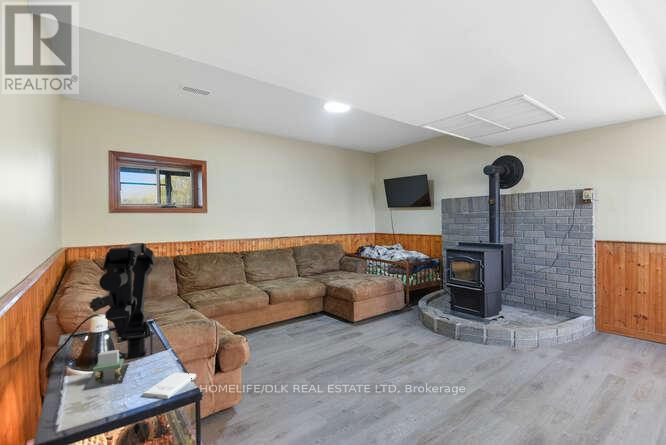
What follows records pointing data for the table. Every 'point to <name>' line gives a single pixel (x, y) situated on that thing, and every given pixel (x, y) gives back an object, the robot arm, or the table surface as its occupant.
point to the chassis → (107, 377)
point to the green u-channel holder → (108, 361)
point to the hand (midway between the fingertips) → (122, 332)
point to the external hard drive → (169, 385)
